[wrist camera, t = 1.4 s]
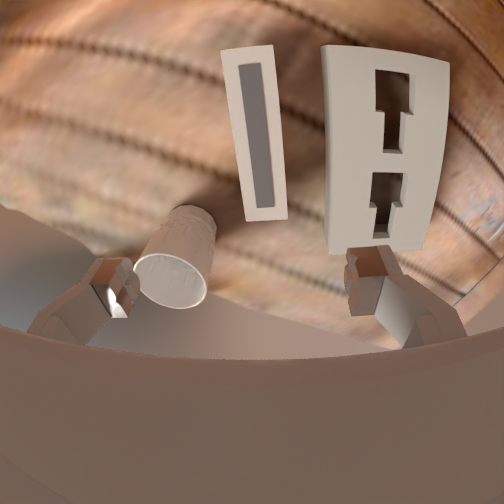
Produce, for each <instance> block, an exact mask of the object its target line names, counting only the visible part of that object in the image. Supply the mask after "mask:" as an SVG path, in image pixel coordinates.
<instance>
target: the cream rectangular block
mask: <svg viewBox="0 0 504 504" xmlns="http://www.w3.org/2000/svg"><path fill="white" fill-rule="evenodd" d="M220 52H221V59H222V65H223V72H224V79H225V85H226V92H227V99H228V105H229V112H230V119H231V125H232V132H233V139H234V145H235V152H236V159H237V165H238V172H239V179H240V185H241V192H242V199H243V205H244V212H245V218H246V222H248V221H265V220H284V219H288V215H287V197H286V182H285V167H284V154H283V141H282V129H281V117H280V107H279V96H278V86H277V77H276V68H275V59H274V50H273V45H263V46H252V47H243V48H235V49H228V50H222V51H220Z"/></svg>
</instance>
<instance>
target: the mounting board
mask: <svg viewBox="0 0 504 504" xmlns="http://www.w3.org/2000/svg"><path fill="white" fill-rule="evenodd" d="M320 53H321V65H322V78H323V95H324V117H325V223H324V235H325V239H326V244H327V248H328V253H329V255H339V254H346V253H347V249H348V247H367V246H376V245H389V246H390V248H391V250H392V252H397V251H415V250H422V249H423V245H424V242H425V238H426V235H427V231H428V227H429V224H430V220H431V216H432V212H433V207H434V203H435V198H436V194H437V189H438V184H439V179H440V173H441V167H442V161H443V155H444V148H445V140H446V131H447V121H448V108H449V88H450V63H449V62H446V61H442V60H438V59H434V58H429V57H425V56H420V55H415V54H410V53H404V52H399V51H392V50H385V49H378V48H369V47H358V46H344V45H325V46H321V47H320ZM375 69H378V70H387V71H394V72H402V73H408V74H410V91H409V112H401V118H400V136H399V148H398V150H393V149H383V140H384V116H385V112H383V111H381V110H376V109H375V105H376V95H375ZM373 172H393V173H403V181H402V188H401V194H400V200H399V202H392V205H391V212H390V218H389V223H388V224H385V225H375V218H376V211H377V207H376V205H375V203H374V202H370V194H371V184H372V173H373Z"/></svg>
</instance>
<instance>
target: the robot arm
mask: <svg viewBox="0 0 504 504" xmlns="http://www.w3.org/2000/svg"><path fill="white" fill-rule="evenodd" d="M346 259H347V262H348V264H347V265H346V266H345V270H344V284H345V290H346V293H347V294H348V295H349V299H348V304H349V308H350V313H351V316H365V315H374V316H375V318H376V319H377V320H378V321H379V322H380V323H381V324H382V325H383V326H384V327H385V328H386V329H387V330H388V331H389V333H390V334H391V335H392V336H393V337H394V338H395V339H396V340H397V341H398V342H399V343H400V345H401V346H402V349H399V350H392V351H385V352H377V353H369V354H360V355H351V356H339V357H325V358H309V359H286V360H285V359H284V360H225V359H201V358H185V357H172V356H160V355H151V354H141V353H132V352H125V351H118V350H111V349H104V348H98V347H92V346H86V345H85V344H87V343H88V342H89V341H90V339H91V338H92V337H93V336H94V335H95V334H96V333H97V332H98V331H99V330H100V329H101V328H102V327H103V326H104V325H105V324H106V323H107V322H108V321H109V320H110V319H111V317H120V318H128V317H129V315H130V312H131V310H132V308H133V306H134V305H133V302H132V301H133V300H134V299H136V298H137V297H138V295H139V292H140V280H139V277H138V275H137V274H136V273H135V272H134V271H133V270H132V268H133V264H132V262H131V260H130V259H128V258H99V259H96V260H95V262H94V263H93V264H92V266H91V267H90V269H89V270H88V272H87V273H86V275H85V276H84V278H83V279H82V281H81V282H80V284H76V285H75V286H73V287H72V288H71V289H69V290H68V291H67V292H65V293H64V294H62V295H61V296H60V297H59V298H57V299H56V300H54V301H53V302H52V303H50V304H49V305H48V306H47V307H45V308H44V309H42V310H41V311H40V312H38V314H37V315H36V317H35V319H34V320H33V322H32V324H31V325H30V327H29V329H28V331H27V332H22V331H19V330H15V329H11V328H8V327H4V326H1V325H0V504H504V327H502V328H498V329H495V330H491V331H487V332H484V333H480V334H476V335H472V336H467V334H466V331H465V329H464V327H463V324H462V322H461V320H460V318H459V316H458V313H457V311H456V309H454V308H453V307H452V306H450V305H449V304H448V303H446V302H445V301H444V300H442V299H441V298H440V297H438V296H437V295H435V294H434V293H433V292H431V291H430V290H428V289H427V288H426V287H424V286H423V285H421V284H420V283H419V282H417V281H416V280H414V279H413V278H412V277H410V276H409V275H403V272H402V270H401V268H400V266H399V264H398V262H397V260H396V258H395V256H394V254H393V252H392V250H391V248H390V246H389V245H376V246H367V247H348V249H347V253H346Z"/></svg>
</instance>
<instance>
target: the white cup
mask: <svg viewBox="0 0 504 504" xmlns="http://www.w3.org/2000/svg"><path fill="white" fill-rule="evenodd" d="M216 233H217V226H216V224H215V221H214V219H213V217H212V216H211V215H210V214H209V213H207V212H206V211H205V210H204V209H202V208H199V207H196V206H193V205H183V206H179V207H177V208H175V209H173V210H172V211H170V213H169V214H168V216H167V217H166V219H165V220H164V222H163V223H162V224H161V225H160V226H159V228H158V229H157V231H156V232H155V234H154V235H153V236H152V238H151V239H150V241H149V243H148V244H147V246H146V247H145V249H144V251H143V252H142V254H141V256H140V257H139V259H138V260H137V262H136V264H135V266H134V269H133V271H134V272H135V273H136V274H137V275H138V277H139V280H140V290H141V291H142V292H143V293H144V294H145V295H146V296H147V297H149V298H150V299H151V300H153V301H154V302H156V303H158V304H161V305H163V306H166V307H170V308H177V309H184V308H190V307H194V306H196V305H198V304H199V303H201V302H202V301H203V300H204V298H205V296H206V294H207V289H208V283H209V278H210V273H211V268H212V262H213V256H214V250H215V240H216Z"/></svg>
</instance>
